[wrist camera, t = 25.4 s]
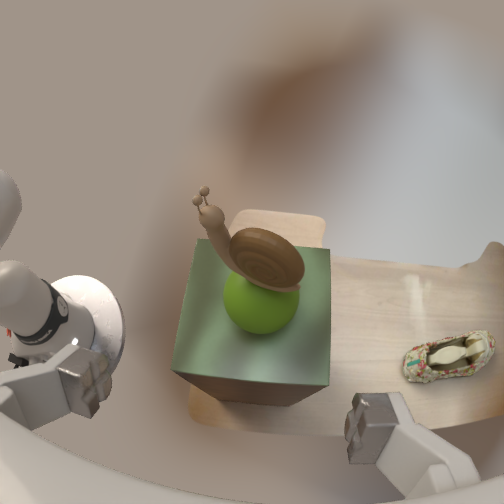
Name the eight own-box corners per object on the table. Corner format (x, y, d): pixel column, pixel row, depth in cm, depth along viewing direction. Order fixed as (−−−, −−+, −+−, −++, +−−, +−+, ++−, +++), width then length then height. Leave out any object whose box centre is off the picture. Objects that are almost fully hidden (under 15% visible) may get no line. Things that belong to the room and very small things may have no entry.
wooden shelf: (217, 399, 47) (170, 369, 22) (226, 333, 54) (197, 238, 28) (289, 406, 47) (329, 385, 21) (294, 339, 53) (330, 248, 27)
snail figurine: (234, 265, 27) (221, 157, 16) (305, 294, 25) (336, 194, 15) (203, 319, 24) (164, 231, 14) (278, 353, 23) (297, 286, 12)
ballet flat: (494, 364, 47) (517, 354, 40) (404, 400, 46) (424, 394, 39) (484, 325, 52) (505, 311, 45) (394, 352, 51) (412, 341, 44)
